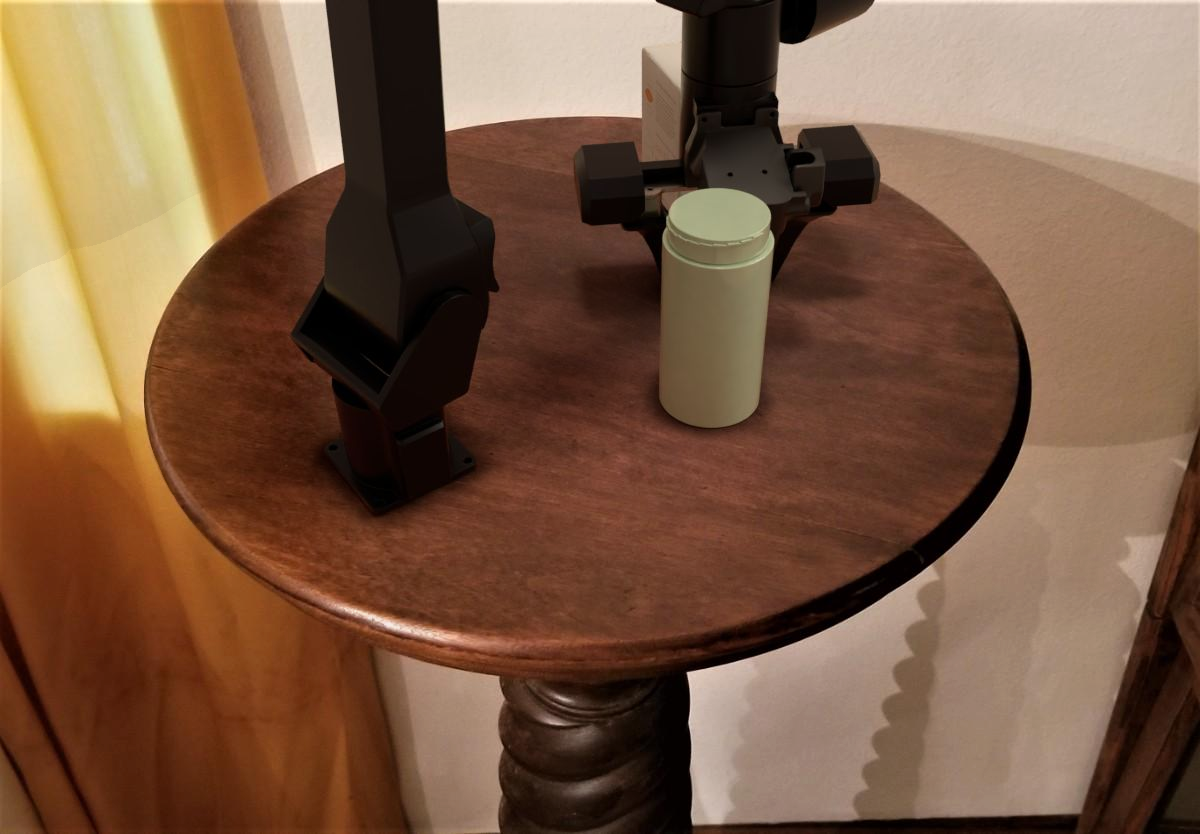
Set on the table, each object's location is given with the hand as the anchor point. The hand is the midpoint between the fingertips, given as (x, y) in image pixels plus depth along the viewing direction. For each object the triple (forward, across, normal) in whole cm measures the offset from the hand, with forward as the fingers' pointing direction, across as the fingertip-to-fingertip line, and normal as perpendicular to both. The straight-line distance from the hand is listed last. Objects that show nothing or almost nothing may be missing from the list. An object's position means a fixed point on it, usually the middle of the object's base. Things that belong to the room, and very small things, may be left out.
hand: (718, 285), depth 78 cm
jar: (0, -3, -12) cm, 12 cm away
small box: (0, 0, +12) cm, 12 cm away
